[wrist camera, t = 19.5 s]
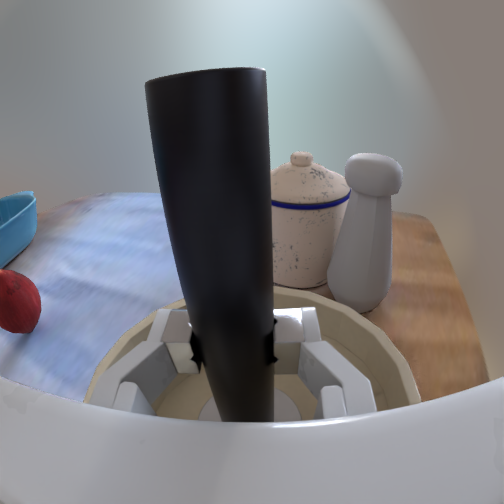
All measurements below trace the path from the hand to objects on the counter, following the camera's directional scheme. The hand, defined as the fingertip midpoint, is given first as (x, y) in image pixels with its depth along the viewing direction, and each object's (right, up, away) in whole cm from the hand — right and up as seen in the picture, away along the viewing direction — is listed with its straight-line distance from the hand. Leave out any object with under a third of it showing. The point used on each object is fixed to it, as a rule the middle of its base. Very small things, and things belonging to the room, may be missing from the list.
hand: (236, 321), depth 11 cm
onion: (-22, -6, +13) cm, 26 cm away
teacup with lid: (+4, +1, +21) cm, 21 cm away
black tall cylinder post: (+1, -8, +4) cm, 10 cm away
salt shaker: (+10, -2, +15) cm, 18 cm away
